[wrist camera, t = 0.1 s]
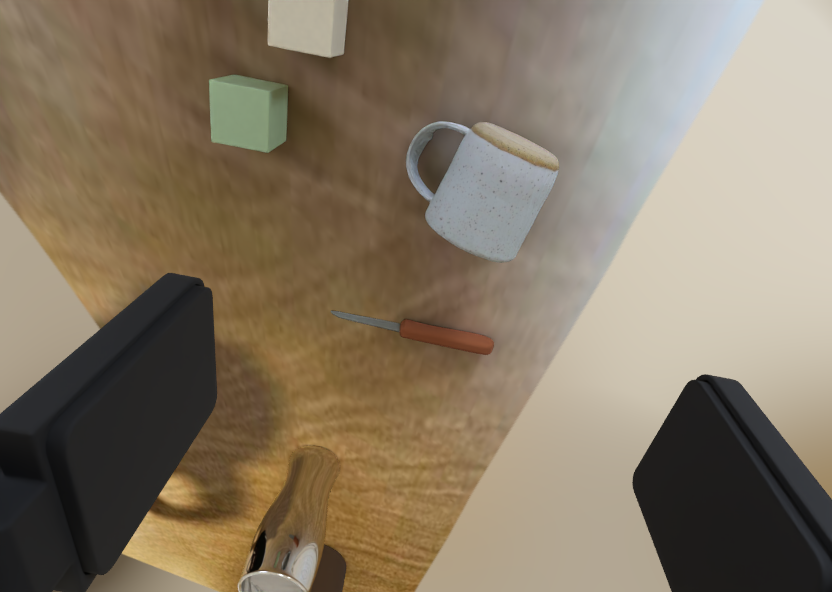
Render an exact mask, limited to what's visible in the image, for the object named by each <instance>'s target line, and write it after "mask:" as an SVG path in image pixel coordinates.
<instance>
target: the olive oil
mask: <svg viewBox="0 0 832 592" xmlns="http://www.w3.org/2000/svg"><path fill="white" fill-rule="evenodd" d="M345 573H346V563H345V560H344V559H343V557H342V556H341V555H340V554H339V553H338V552H337V551H335V550H334V549H332V548H330V547H328V546H326V545H324V548H323V552H322V557H321V560H320V564H319V567H318V571H317V574H316V577H315V580H314V583H313V585H312V588H311V591H310V592H342V590H343V584H344V579H345Z"/></svg>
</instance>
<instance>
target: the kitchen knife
mask: <svg viewBox="0 0 832 592" xmlns="http://www.w3.org/2000/svg"><path fill="white" fill-rule="evenodd" d="M331 313H332V314H333V315H335V316H337V317H339V318H342V319H346V320H350V321H354V322H358V323H363V324H367V325H371V326H375V327H379V328H383V329H387V330H392V331H396V332H399V333H400V335H401V337H404V338H408V339H412V340H417V341H421V342H426V343H431V344H435V345H440V346H445V347H449V348H454V349H459V350H463V351H468V352H473V353H477V354H483V355H488V354H490V353H491V352H492V350H493V347H494V342H493V340H492V339H490V338H488V337H486V336H483V335H479V334H475V333H470V332H465V331H459V330H454V329H448V328H443V327H437V326H432V325H427V324H423V323H419V322H415V321H412V320H408V319H404V320H403V321H402V322H401V324H399V323H395V322H390V321H385V320H380V319H375V318H370V317H365V316H359V315H354V314H349V313H343V312H338V311H331Z"/></svg>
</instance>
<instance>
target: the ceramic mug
mask: <svg viewBox="0 0 832 592" xmlns="http://www.w3.org/2000/svg"><path fill="white" fill-rule="evenodd" d="M443 128H449V129H453V130H456V131H458V132H460V133H462V134H463V135H464V136H465V137H464V138H463V140H462V142H461V144H460V146H459V148H458V150H457V152H456V154H455V156H454V158H453V160H452V162H451V164H450V167H449V169H448V171H447V173H446V174H445V176H444V178H443V180H442V181H441V183H440V185H439V187H438V189H437V191H436V193H435V194H433V193H432V192H431V191H430V190H429V189H428V188H427V187H426V185H425V184H424V183H423V181H422V180H421V178H420V176H419V173H418V169H417V164H418V158H419V156H420V155H421V153H422V151H423V149H424V147H425V145H426V144H427V142H428V141H429V140H431V139H432V137H433V132H435V131H436V130H438V129H443ZM406 168H407V172H408V175H409V178H410V180H411V182H412V184H413V185H414V187H415V188H416V190H417V191H418V192H419V193H420V194H421V195H422V196H423V197H424V198H425V199H426V200H427V201H429V202H430V205H429V206H428V208H427V210H426V213H425V219H426V221H427V222H428V224H429V225H430V226H431V228H432V229H433V230H434V231H435V232H436V233H438V234H439V235H440V236H441V237H443V238H444V239H446V240H447V241H449V242H450V243H451V244H453V245H455V246H456V247H458V248H460V249H462V250H464V251H466V252H468V253H470V254H473V255H475V256H478V257H481V258H484V259H486V260H490V261H493V262H500V263H502V262H509V261H511V260H513V259H514V258H515V257H516V255H517V253H518V251H519V249H520V247H521V245H522V243H523V241H524V239H525V237H526V236H527V234H528V232H529V230H530V228H531V226H532V225H533V223H534V221H535V219H536V217H537V215H538V213H539V211H540V209H541V207H542V205H543V204H544V202H545V200H546V198H547V196H548V195H549V193H550V191H551V189H552V187H553V185H554V182H555V179H556V177H557V174H558V170H559V162H558V160H557V158H556V157H555V156H554V155H553V154H552V153H550V152H549V151H547V150H545V149H544V148H542V147H540V146H538V145H536V144H535V143H533V142H531V141H529V140H527V139H525V138H523V137H521V136H519V135H517V134H515V133H513V132H510V131H508V130H506V129H504V128H501V127H499V126H496V125H494V124H491V123H488V122H480V123H477V124H475V125H474V126H472V128H471V129H469V128H467V127H466V126H463V125H460V124H456V123H452V122H444V121H443V122H435V123H432V124H429V125H427V126H426V127H424V128H422V129H421V130H420V131H419V132H418V133H417V134H416V136H415V137H414V139H413V141H412V142H411V144H410V146H409V149H408V152H407V156H406Z"/></svg>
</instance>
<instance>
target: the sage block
mask: <svg viewBox="0 0 832 592" xmlns="http://www.w3.org/2000/svg"><path fill="white" fill-rule="evenodd" d="M209 94H210V119H211V141H212V142H215V143H220V144H225V145H230V146H236V147H241V148H246V149H251V150H256V151H261V152H266V153H269V152H270V151H272V150H273V149H275V148H276V147H278V146H279V145H281V144H282V143H284V142H285V141H286V131H287V104H288V85H285V84H280V83H275V82H270V81H264V80H259V79H254V78H249V77H244V76H239V75H230V76H225V77H220V78H216V79H211V80H209Z"/></svg>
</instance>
